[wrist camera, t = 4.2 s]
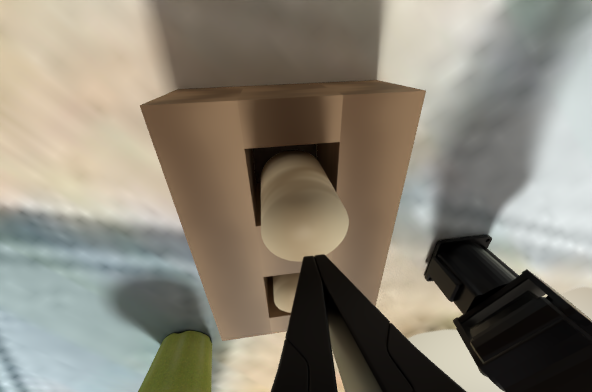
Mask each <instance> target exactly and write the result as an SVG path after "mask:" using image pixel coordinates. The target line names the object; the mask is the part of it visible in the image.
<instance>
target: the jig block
mask: <svg viewBox="0 0 592 392" xmlns="http://www.w3.org/2000/svg"><path fill="white" fill-rule="evenodd" d="M425 92H426V91H425V90H420V89H415V88H411V87H406V86H402V85H397V84H392V83H388V82H383V81H378V80H370V81H348V82H326V83H305V84H283V85H261V86H240V87H218V88H196V89H178V90H175V91H173V92H171V93H168V94H166V95H164V96H161V97H159V98H156V99H154V100H152V101H149V102H147V103H145V104H142V105H140V108H141V111H142V113H143V116H144V119H145V122H146V125H147V128H148V130H149V133H150V136H151V139H152V142H153V145H154V148H155V150H156V153H157V156H158V159H159V162H160V165H161V167H162V170H163V173H164V176H165V179H166V182H167V185H168V187H169V190H170V193H171V196H172V199H173V202H174V204H175V207H176V210H177V213H178V216H179V219H180V222H181V224H182V227H183V230H184V233H185V236H186V239H187V241H188V244H189V247H190V250H191V253H192V256H193V259H194V261H195V264H196V267H197V270H198V273H199V276H200V279H201V281H202V284H203V287H204V290H205V293H206V296H207V298H208V301H209V304H210V307H211V310H212V313H213V316H214V318H215V321H216V324H217V327H218V330H219V333H220V335H221V338H222V341H225V340H232V339H239V338H245V337H252V336H259V335H265V334H272V333H279V332H286V331H287V328H288V324H289V319H290V315H291V313H289V312H285V311H282V310H280V309H279V308H278V307H277V306H276V305H275V303H274V290H273V276H276V275H284V274H292V273H300V269H301V265H302V262H297V261H289V260H285V259H282V258H280V257H278V256H276V255H275V254H273V253H272V252H271V251H270V250H269V249H268V248H267V247H266V245H265V244H264V242H263V239H262V235H261V183H257V181H256V174H255V166H254V158H253V151H252V148H263V147H277V146H291V145H304V144H317V160H318V161H319V163H320V164H321V166H322V168H323V170H324V171H325V173H326V175H327V177H328V179H329V180H330V182H331V184H332V186H333V188H334V189H335V191H336V193H337V195H338V197H339V198H340V200H341V202H342V204H343V206H344V207H345V209H346V211H347V214H348V219H349V225H348V230H347V233H346V235H345V237H344V239H343V240H342V242H341V243H340V244H339V245H338V246H337V247H336V248H335V249H334V250H333V251H331V252H330V253H328V254H327V255H326V256H327V257H328V258H329V259H330V260H331V261H332V262H333V263H334V264H335V265H336V266H337V268H338V269H339V270H340V271H341V272H342V273H343V274H344V275H345V276H346V277H347V278H348V279H349V280H350V281H351V282H352V283H353V284H354V285H355V286H356V287H357V288H358V289H359V290H360V291H361V292H362V293H363V294H364V295H365V296H366V297H367V298H368V300H369V301H370V302H371V303H372V304H373V305H374V306H375V305H376V301H377V297H378V293H379V288H380V284H381V280H382V275H383V271H384V267H385V263H386V258H387V254H388V250H389V246H390V241H391V237H392V233H393V229H394V224H395V220H396V216H397V212H398V207H399V203H400V199H401V195H402V190H403V186H404V182H405V178H406V173H407V169H408V165H409V161H410V156H411V152H412V148H413V144H414V139H415V135H416V131H417V127H418V122H419V118H420V114H421V109H422V105H423V101H424V97H425Z"/></svg>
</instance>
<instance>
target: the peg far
mask: <svg viewBox="0 0 592 392" xmlns="http://www.w3.org/2000/svg"><path fill="white" fill-rule="evenodd" d="M299 274H300V273H292V274H284V275H276V276H273V290H274V303H275V305H276V306H277V307H278V308H279V309H280V310H282V311H285V312H289V313H291V310H292V306H293V301H294V297H295V292H296V287H297V283H298V278H299Z"/></svg>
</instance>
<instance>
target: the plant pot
mask: <svg viewBox="0 0 592 392" xmlns="http://www.w3.org/2000/svg"><path fill="white" fill-rule="evenodd" d="M211 371H212V343H211V341H210V339H209V337H208V336H207V335H205V334H203V333H200V332H196V331H185V332H183V333H180V334H176V333H173V334H170V335H169V336H167V337H166V338H165V339H164V340H163V342H162V344H161V346H160V348H159V350H158V352H157V354H156V356H155V358H154V360H153V362H152V364H151V367H150V369H149V371H148V373H147V375H146V377H145V379H144V381H143V383H142V385H141V387H140V389H139V391H138V392H211Z"/></svg>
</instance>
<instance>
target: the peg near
mask: <svg viewBox="0 0 592 392" xmlns="http://www.w3.org/2000/svg"><path fill="white" fill-rule="evenodd" d="M348 225H349V219H348V214H347V211H346V209H345V207H344V206H343V204H342V202H341V200H340V198H339V197H338V195H337V193H336V191H335V189H334V188H333V186H332V184H331V182H330V180H329V179H328V177H327V175H326V173H325V171H324V170H323V168H322V166H321V164H320V163H319V161H318V160H317V159H316V158H315V157H314V156H313V155H311V154H310V153H308V152H305V151H302V150H286V151H282V152H280V153H278V154H276V155H274V156H273V157H272V158H271V159H270V160H268V162H267V163H266V164H265V166H264V168H263V170H262V173H261V235H262V239H263V242H264V244H265V245H266V247H267V248H268V249H269V250H270V251H271V252H272V253H273V254H275V255H276V256H278V257H280V258H282V259H285V260H289V261H297V262H302V260H303V257H304V256H315V255H320V254H324V255H327V254H328V253H330V252H331V251H333V250H334V249H335V248H336V247H337V246H338V245H339V244H340V243H341V242H342V240H343V239H344V237H345V235H346V233H347V230H348Z"/></svg>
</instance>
